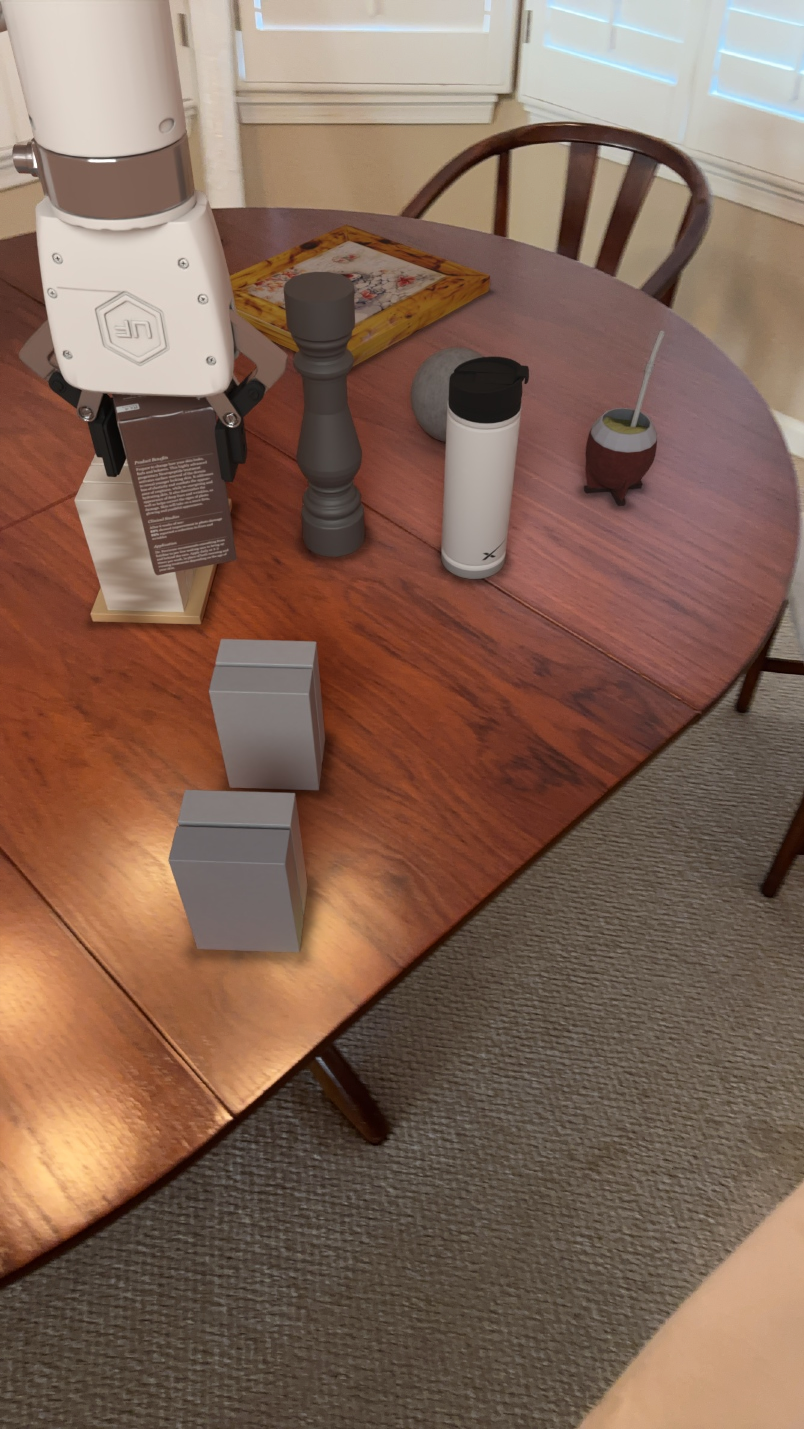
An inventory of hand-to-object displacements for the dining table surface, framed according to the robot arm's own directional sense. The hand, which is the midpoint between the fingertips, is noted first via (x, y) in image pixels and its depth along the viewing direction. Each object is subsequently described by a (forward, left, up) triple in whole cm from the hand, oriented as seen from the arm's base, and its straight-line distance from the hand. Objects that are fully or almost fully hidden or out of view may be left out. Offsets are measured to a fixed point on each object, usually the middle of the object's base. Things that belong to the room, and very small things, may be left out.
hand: (174, 465), depth 62 cm
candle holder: (+7, +23, -23) cm, 33 cm away
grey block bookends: (+5, -13, -23) cm, 27 cm away
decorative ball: (+19, +42, -23) cm, 52 cm away
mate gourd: (+36, +33, -23) cm, 54 cm away
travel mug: (+21, +20, -23) cm, 37 cm away
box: (0, 0, -7) cm, 7 cm away
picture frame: (+4, +76, -23) cm, 79 cm away
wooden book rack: (-9, +18, -23) cm, 30 cm away
